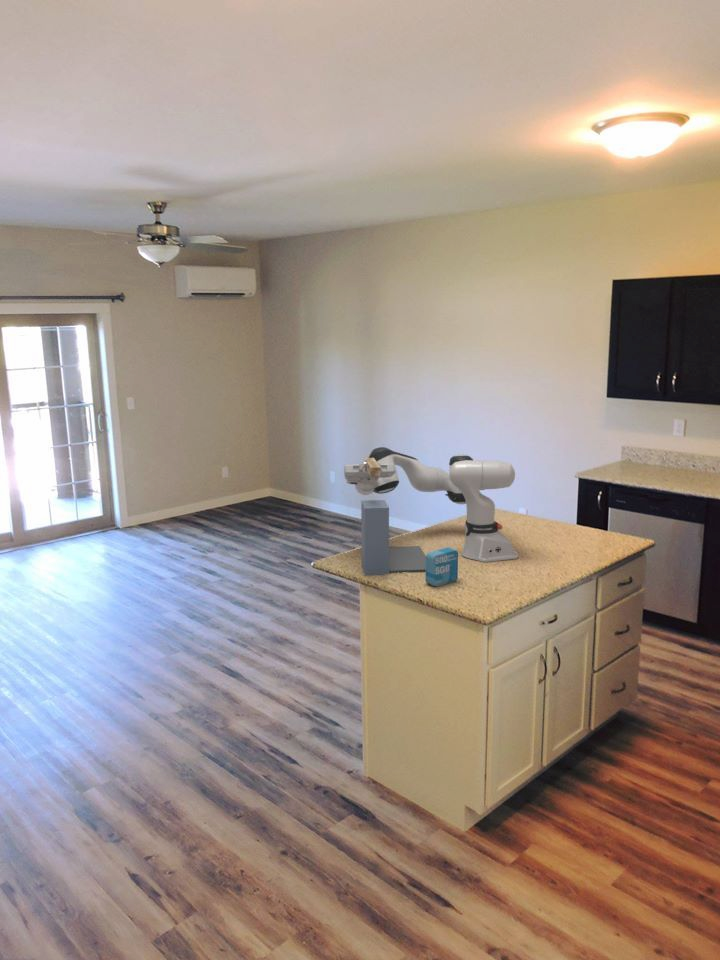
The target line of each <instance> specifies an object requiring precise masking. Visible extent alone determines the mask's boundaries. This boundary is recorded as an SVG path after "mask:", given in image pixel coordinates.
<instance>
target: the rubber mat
mask: <svg viewBox="0 0 720 960" xmlns="http://www.w3.org/2000/svg"><path fill="white" fill-rule="evenodd" d="M398 572H399V573H398ZM403 572H411V573H426V554H425V553H424V551H423V549H422V547H421V545H406V546H405V545H403V546H389V574H397V573H398V574H404V573H403Z"/></svg>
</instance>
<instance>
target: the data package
mask: <svg viewBox="0 0 720 960" xmlns="http://www.w3.org/2000/svg"><path fill="white" fill-rule="evenodd" d="M425 556H426V572H425V579H424V580H425V583H426V584H428V585H430V586H433V587H435V586H437V587H441V586H443V584H444V585H447V583H448V584H450V583H454V581H455V582H457V580H458V576H459V574H458V573H459V572H458V571H459V552H458V550H456V549H453V548H451V547H445V548H444V547H443V548H440V549H437V550H432V551H428V552H427V553H426V554H425Z"/></svg>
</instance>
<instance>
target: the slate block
mask: <svg viewBox="0 0 720 960" xmlns="http://www.w3.org/2000/svg"><path fill="white" fill-rule="evenodd" d="M360 502H361V506H360V507H361V511H360V512H361V532H360V533H361V534H360V535H361V541H360V542H361V543H360V544H361V568H362V571H363V574H364V576H366V577H367V576H386V575H385V574H389V575H390V573H389V547H390V540H389V539H390V507H389V505H388V504H387V503H388V502H387V501H386V500H385V499H381V500H380V499H379V500H378V499H377V500H376V499H375V500H371V499H370V500H360Z"/></svg>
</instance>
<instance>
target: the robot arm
mask: <svg viewBox="0 0 720 960" xmlns="http://www.w3.org/2000/svg"><path fill="white" fill-rule="evenodd" d="M368 458H374V459H375V460H376V462H377V463H378V465H379V466H380V477H371V476H370V475H369V473H368V471H367V470H366V468H367V463H365V462H362V463H361V464H344V466H343V474H344V479H345V480H346V483H347V484H349V485H354V487H355V490H356V491H357V493H358V494H360V495H361V496H368V495H372V493H375V494H379V495H380V494H387V493H391V492H392V491H394V490H395V489H396V488H398V485H399V484H400V479H399V475H398V471H397V468H396V466H397V467H400V468H402V469H403V471H404V473H405V475H406V476H407V479H408V481H409V483H410V485H411V486H412V488H414V490H416V491H418V492H421V493H422V492H423V493H435V492H436V493H437V492H443V491H445V492H446V493H445V497H448V500H449V501H451V502H452V503H455V504H457V505H466V520H465V524H464V533H465V539H464V544H463V548H462V551H461V556H463V557H464V558H467V559H470V560H475V561H479V562H482V563H490V562H497V561H507V560H517V559H518V558H519V553H518V551H516V550H515V549H514V548H513V544H512V541H511V539H510V538H509V537H508V536H507V535H505V534H504V533H503V532H501V531H502V529H503V525H502V524H501V523H499V522H497V521H496V520H495V514H496V504H495V502H494V500H493V499H492V498H490V497H488V496H486V495H484V494H483V493H481V491H485V490H498V489H504V488H510V487H511V486H512V485H513V483H514V481H515V478H516V472H515V468H514V467H513V465H512V464H511V463H509V462H506V461H505V462H504V461H499V460H474V459H473V457H471V456H470V455H467V454H464V453H460V454H456V455H452V457H450V458H449V464H448V465H449V469H448V472H447V471H446V470H444V469H441V468H439V467H433V466H427V465H425V464H424V463H422V462H421V461H420V460H419V459H417V457H413V456H410V455H407V454H404V453H401V452H397V451H394V450H392V449H390V448H388V447H384V446H382V447H381V446H380V447H376V448H374V449H372V450H371V452H370V454H369V456H368ZM500 530H501V531H500Z"/></svg>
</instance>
